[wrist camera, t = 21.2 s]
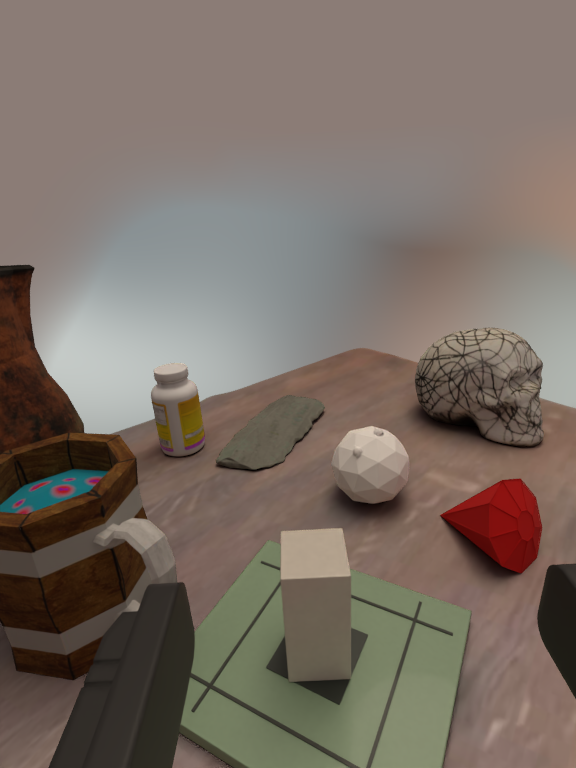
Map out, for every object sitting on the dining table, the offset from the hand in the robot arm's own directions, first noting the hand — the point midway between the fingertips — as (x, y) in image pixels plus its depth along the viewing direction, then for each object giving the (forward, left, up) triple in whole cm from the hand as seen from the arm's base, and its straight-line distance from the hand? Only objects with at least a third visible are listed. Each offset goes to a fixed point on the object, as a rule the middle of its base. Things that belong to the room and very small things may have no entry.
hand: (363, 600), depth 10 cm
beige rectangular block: (+9, -14, -24) cm, 29 cm away
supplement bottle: (+42, -37, -26) cm, 61 cm away
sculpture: (+4, -62, -26) cm, 67 cm away
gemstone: (-1, -34, -26) cm, 42 cm away
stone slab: (+31, -46, -26) cm, 61 cm away
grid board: (+9, -15, -26) cm, 31 cm away
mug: (+27, -10, -26) cm, 38 cm away
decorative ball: (+11, -37, -26) cm, 46 cm away
